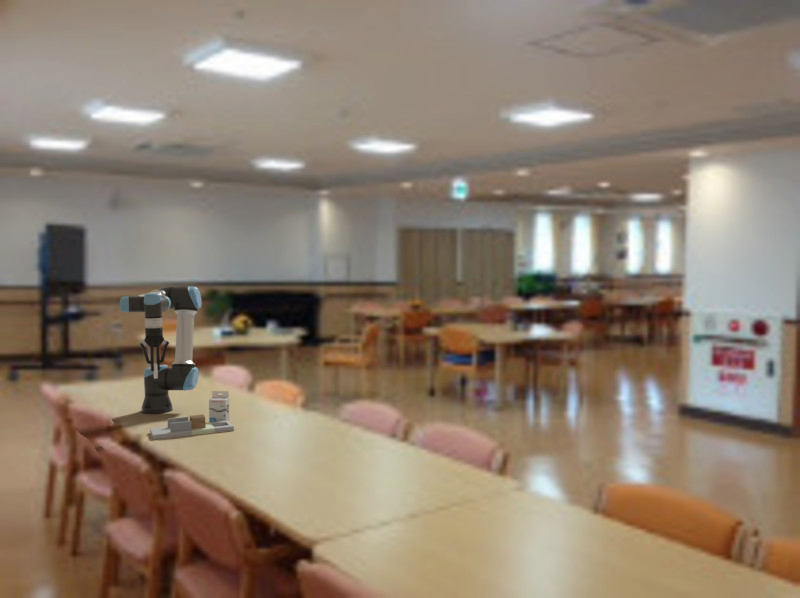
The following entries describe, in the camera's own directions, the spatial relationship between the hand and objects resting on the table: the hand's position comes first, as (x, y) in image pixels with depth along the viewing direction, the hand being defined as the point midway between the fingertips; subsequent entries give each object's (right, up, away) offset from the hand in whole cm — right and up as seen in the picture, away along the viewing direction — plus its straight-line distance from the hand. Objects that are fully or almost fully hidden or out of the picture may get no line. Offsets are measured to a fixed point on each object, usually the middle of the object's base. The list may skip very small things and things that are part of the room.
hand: (155, 377), depth 332 cm
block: (+20, -22, -4) cm, 30 cm away
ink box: (+26, -23, +13) cm, 37 cm away
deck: (+18, -24, -5) cm, 30 cm away
